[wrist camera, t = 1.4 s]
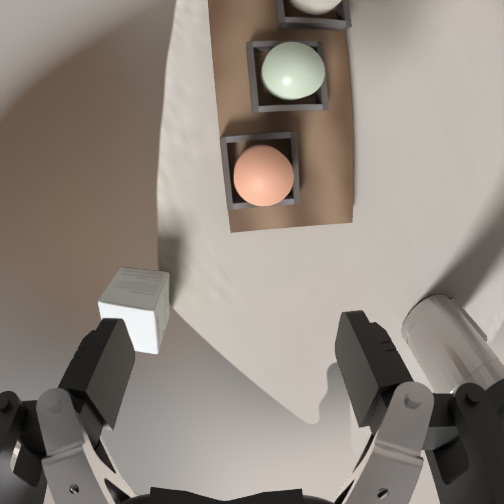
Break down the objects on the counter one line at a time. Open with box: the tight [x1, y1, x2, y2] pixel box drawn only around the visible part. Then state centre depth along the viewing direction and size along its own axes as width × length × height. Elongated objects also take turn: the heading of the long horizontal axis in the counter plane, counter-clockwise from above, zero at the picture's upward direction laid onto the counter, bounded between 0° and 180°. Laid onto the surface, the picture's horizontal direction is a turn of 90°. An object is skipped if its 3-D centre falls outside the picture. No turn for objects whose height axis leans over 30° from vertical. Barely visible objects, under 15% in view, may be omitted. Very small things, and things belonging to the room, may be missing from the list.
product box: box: [98, 267, 170, 354], centre depth 29 cm, size 6×6×7 cm
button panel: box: [208, 0, 354, 233], centre depth 22 cm, size 12×28×4 cm, turn 5°
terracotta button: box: [234, 145, 294, 206], centre depth 22 cm, size 4×4×3 cm
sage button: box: [261, 42, 325, 100], centre depth 19 cm, size 4×4×3 cm
